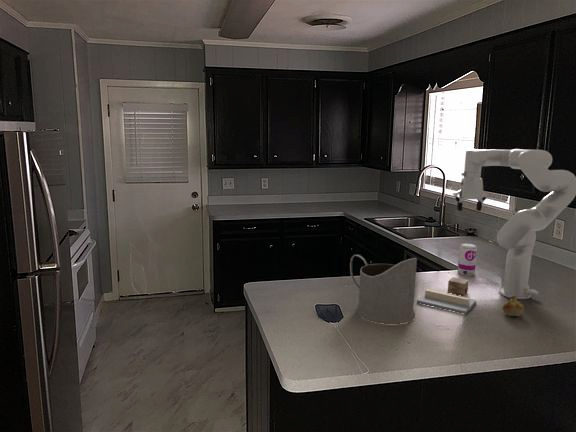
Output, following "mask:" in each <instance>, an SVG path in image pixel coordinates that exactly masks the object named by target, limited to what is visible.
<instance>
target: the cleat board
mask: <svg viewBox="0 0 576 432" xmlns="http://www.w3.org/2000/svg"><path fill="white" fill-rule="evenodd" d="M417 303H421V304H425V305H429V306H434V307H437V308H436V309H438V308H441V309H440V310H442V309H446V310H451V311H455V312H459V313H464V314H466V313H467V312H468V311H469V310H472V308H474V306H475V305H476V304H477V299H474V298H468V297H465V296H464V297H462V296H457V295H453V294H448V293H446V292H441V291H436V290H433V289H425V291H424V293H423V294H422V295H421V296H420V297H418V299H416V304H417ZM475 303H476V304H475ZM421 304H420V305H421ZM474 304H475V305H474ZM425 305H424V306H425ZM473 305H474V306H473ZM429 306H428V307H429ZM434 307H433V308H434ZM446 310H445V311H446ZM455 312H454V313H455ZM469 312H470V311H469ZM469 312H468V313H469ZM459 313H458V314H459ZM468 313H467V314H468ZM467 314H466V315H467Z"/></svg>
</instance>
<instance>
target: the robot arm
mask: <svg viewBox="0 0 576 432" xmlns="http://www.w3.org/2000/svg"><path fill="white" fill-rule="evenodd" d="M464 159H465V160H464V169H463V172H461V176H462V179H461V181H460V185H459V190H456V191H455V192H453V193H452V196H453V197H454V200H455V201H456V202H457V204H456V205H457V207H456V209H457V211H459V212H462V211H463V203H462V202H463V201H464V200H477V201H476V209H475V210H476V211H478V212H481V211H482V207H483V206H482V205H483V203H484V201H486V199H487V198H488V196H489V193H488V192H486V191H485V190H484V182H483V178H482V177H481V176H482V168H483V167H491V166H492V167H493V166H494V167H498V166H499V167H510V169H512V170H513V169H514V170H521V172H522V173H523V174H524V175H525V177H526V178H527V179H528V180H529V181H530V182H531V183H532V185H533V186H534V187H535V188H536V189H538V190H539V191H541V192H544V193H548V194H547V195H546V196H544V197H543V198H542V199H541V200H540V201H539V202H538V203H537V204H536V205H535V206H534V207H531V208H527V209H522V210H519V211H517V212H515V213H514V214H513V215H512V216H511V217H509V218H510V219H508V220H507V221H506V222H505V224H504V225H503V226H502V227H501V228H500V229H499V231H498V232H497V236H496V241H497V243H498V245H499V246H500V247H501V248H503V249H506V250H508V251H507V254H506V263H505V271H504V280H503V287H501V288H499V290H498V293H499V294H500V295H501V296H504V297H506V298H509V299H510V297H511V296H516V299H517V300H527V299H530V298H531V295H532V296H535V297H538V295H539V291H537V289H531V288H530V285H528V284H529V278H530V270H531V269H530V268H531V262H532V254H533V250H534V246H535V243H536V239H537V234H536V232H538V231H542V230H545V229H546V227H548V226H549V225H550V224H551V223H552V222H553V221H554V220H555V219H556V218H557V217H558V216H559V214H561V213H562V212H563V210H564V209H566V208H567V207H568V206H569V205H570V204H571V203H572V201H574V199H575V197H576V175H575V174H574V173H573V172H571V171H569V170H565V169H549V167H550V166H551V165H552V163H553V156H552V154H551V153H550V152H549V151H547V150H543V149H523V148H522V149H520V148H514V149H478V148H477V149H476V148H475V149H474V148H470V149H469V148H468V149H467V150H466V151H465V158H464Z"/></svg>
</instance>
